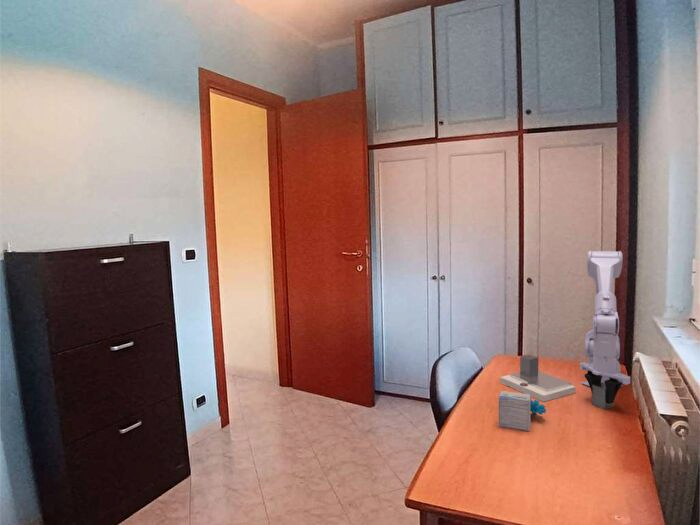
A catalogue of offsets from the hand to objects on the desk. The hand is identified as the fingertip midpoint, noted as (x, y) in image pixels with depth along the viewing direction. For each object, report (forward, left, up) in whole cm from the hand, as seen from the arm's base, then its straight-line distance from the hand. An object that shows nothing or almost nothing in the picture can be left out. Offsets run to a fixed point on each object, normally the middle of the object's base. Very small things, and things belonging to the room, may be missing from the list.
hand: (602, 400), depth 135 cm
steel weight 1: (+5, -23, +1) cm, 24 cm away
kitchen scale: (+6, -19, -2) cm, 20 cm away
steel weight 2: (0, 0, -2) cm, 2 cm away
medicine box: (+32, -3, -2) cm, 32 cm away
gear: (+25, -6, -2) cm, 26 cm away
